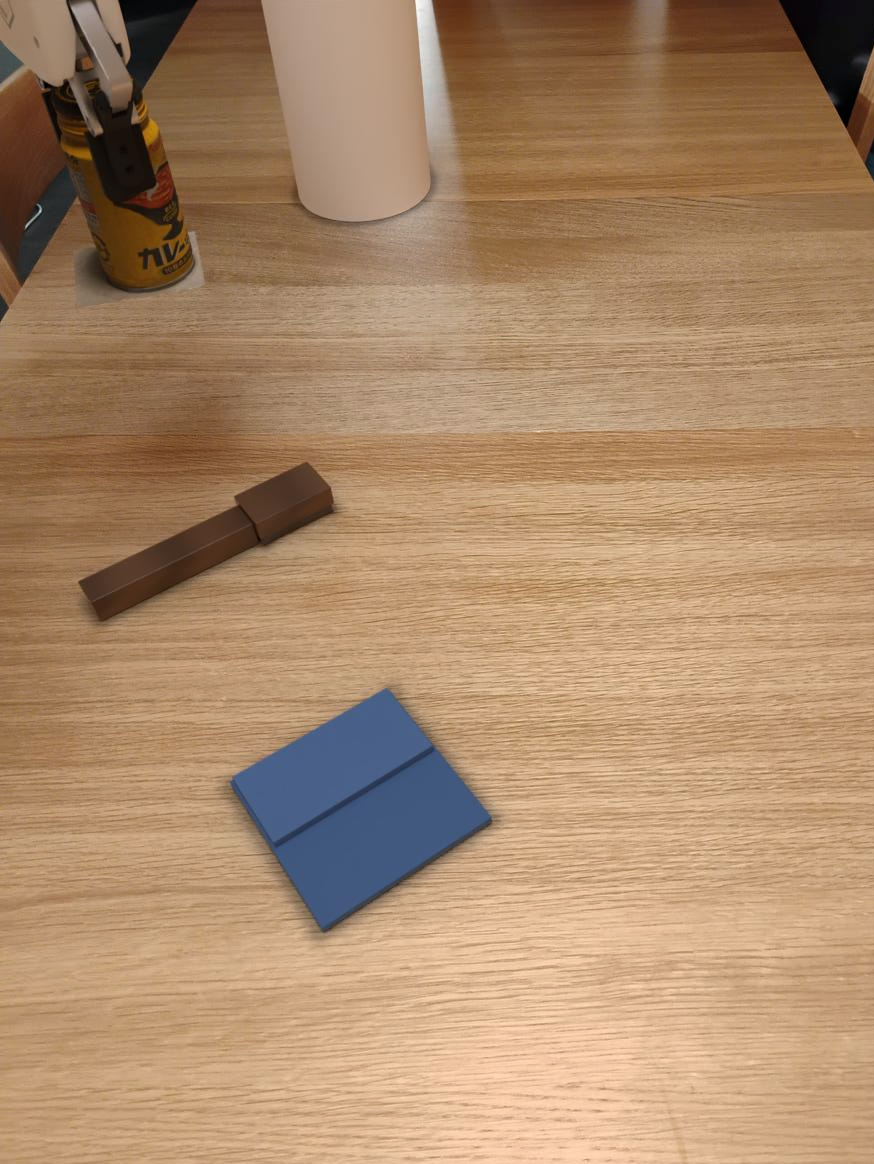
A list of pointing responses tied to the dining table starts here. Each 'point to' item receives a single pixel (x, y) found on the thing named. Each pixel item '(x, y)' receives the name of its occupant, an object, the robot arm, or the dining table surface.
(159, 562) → the brown bar
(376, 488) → the dining table surface
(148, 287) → the condiment
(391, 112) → the canister
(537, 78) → the dining table surface
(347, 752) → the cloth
